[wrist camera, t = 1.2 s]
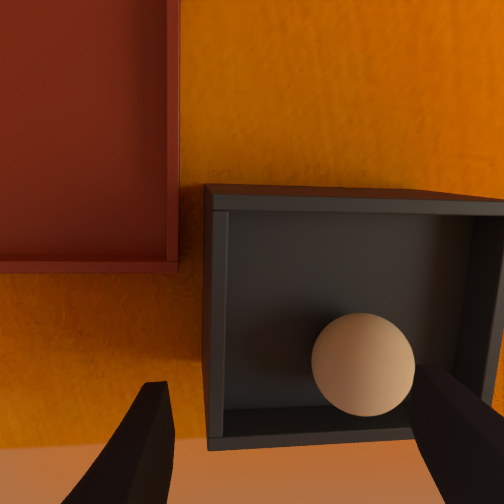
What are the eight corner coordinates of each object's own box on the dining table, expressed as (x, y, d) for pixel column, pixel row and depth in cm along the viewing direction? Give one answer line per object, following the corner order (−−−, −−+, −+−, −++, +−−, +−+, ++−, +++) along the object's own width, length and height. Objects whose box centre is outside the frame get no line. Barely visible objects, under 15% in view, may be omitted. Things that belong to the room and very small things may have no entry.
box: (400, 356, 27) (487, 435, 19) (201, 362, 25) (207, 452, 17) (419, 189, 25) (524, 201, 17) (204, 183, 23) (212, 193, 15)
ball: (401, 354, 20) (453, 400, 16) (327, 400, 20) (360, 458, 16) (362, 283, 19) (407, 314, 15) (284, 331, 19) (309, 374, 15)
